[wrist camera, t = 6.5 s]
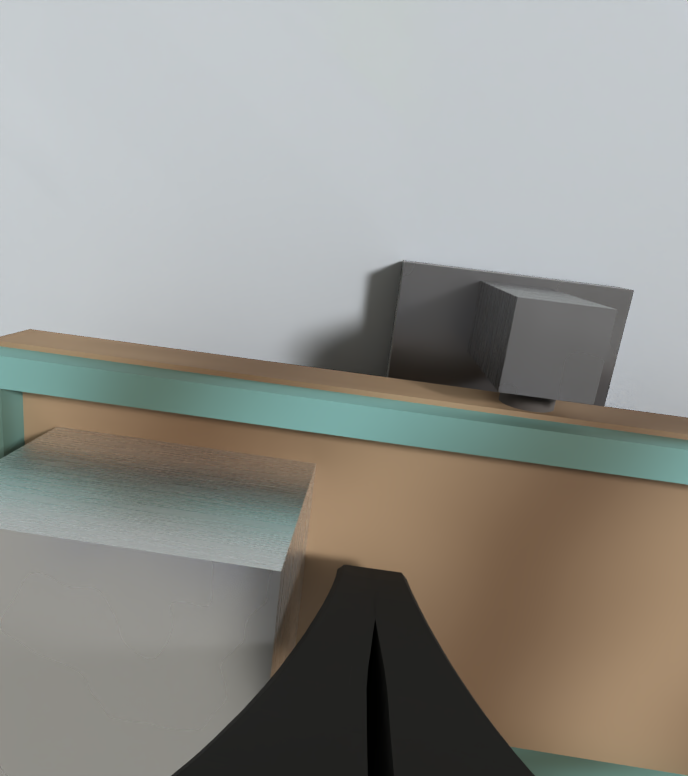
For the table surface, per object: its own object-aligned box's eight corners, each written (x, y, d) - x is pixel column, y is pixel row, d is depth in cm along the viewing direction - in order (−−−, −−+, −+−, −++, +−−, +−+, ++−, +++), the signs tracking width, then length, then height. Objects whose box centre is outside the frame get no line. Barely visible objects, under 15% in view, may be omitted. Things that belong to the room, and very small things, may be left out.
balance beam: (1164, 471, 10) (1320, 518, 9) (975, 809, 13) (1068, 900, 11) (29, 319, 11) (-36, 334, 10) (40, 658, 14) (-10, 720, 12)
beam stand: (618, 287, 13) (728, 310, 9) (511, 716, 16) (556, 876, 12) (403, 260, 13) (414, 270, 9) (341, 691, 16) (328, 841, 12)
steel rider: (290, 681, 12) (252, 859, 8) (62, 644, 12) (-67, 803, 9) (316, 463, 10) (280, 571, 7) (57, 426, 11) (-97, 513, 7)
